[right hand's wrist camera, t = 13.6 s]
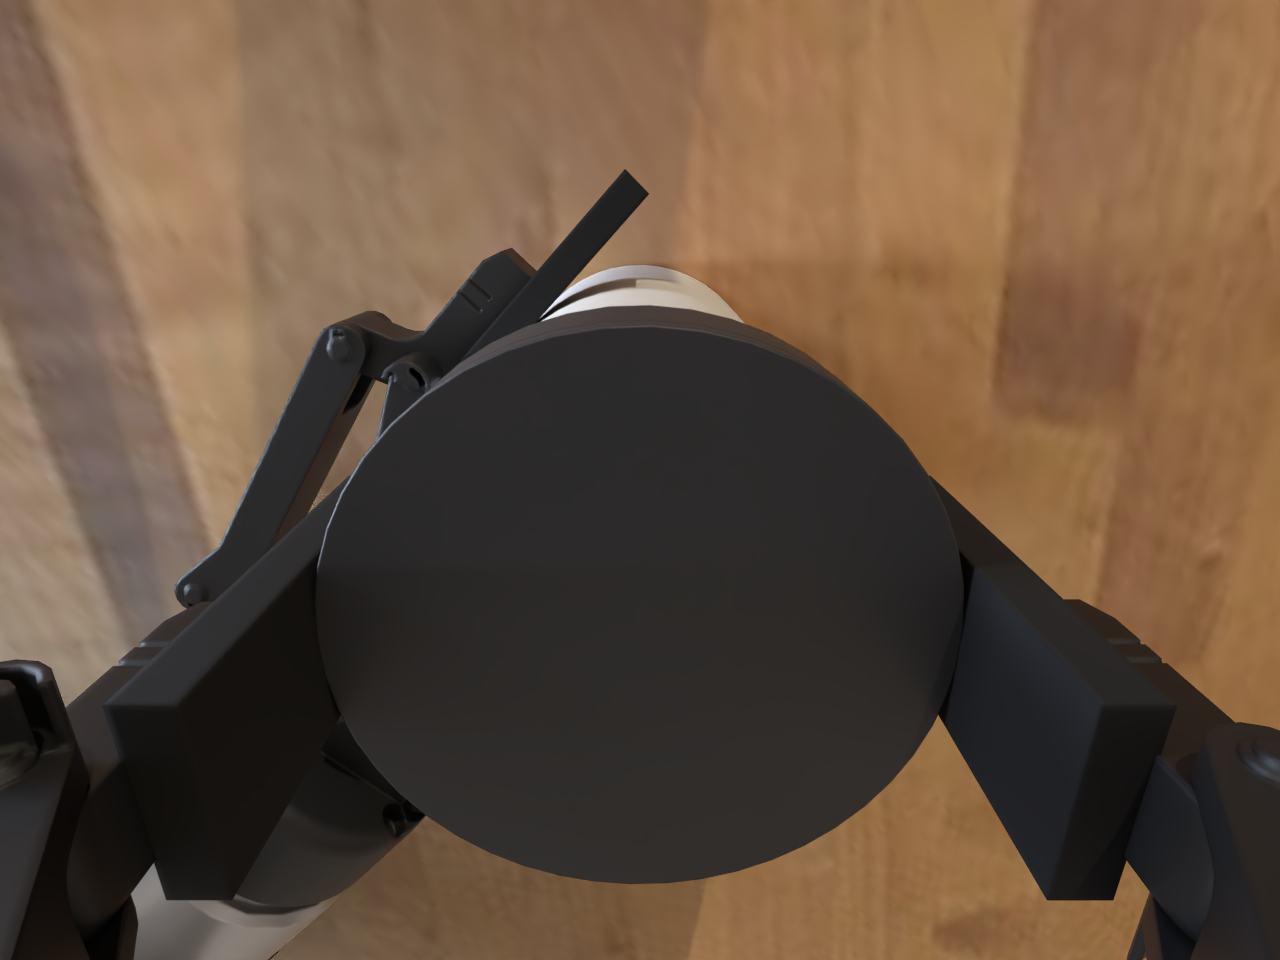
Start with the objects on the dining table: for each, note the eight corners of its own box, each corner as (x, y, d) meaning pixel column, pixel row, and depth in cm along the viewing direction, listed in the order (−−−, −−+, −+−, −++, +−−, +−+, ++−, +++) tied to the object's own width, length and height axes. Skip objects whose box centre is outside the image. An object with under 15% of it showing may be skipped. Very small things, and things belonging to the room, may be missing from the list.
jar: (728, 507, 27) (835, 867, 12) (512, 474, 27) (355, 807, 12) (779, 287, 24) (997, 413, 10) (537, 245, 24) (369, 310, 9)
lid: (834, 824, 14) (863, 914, 12) (356, 763, 13) (312, 848, 12) (995, 359, 11) (1067, 390, 9) (371, 254, 10) (313, 264, 8)
